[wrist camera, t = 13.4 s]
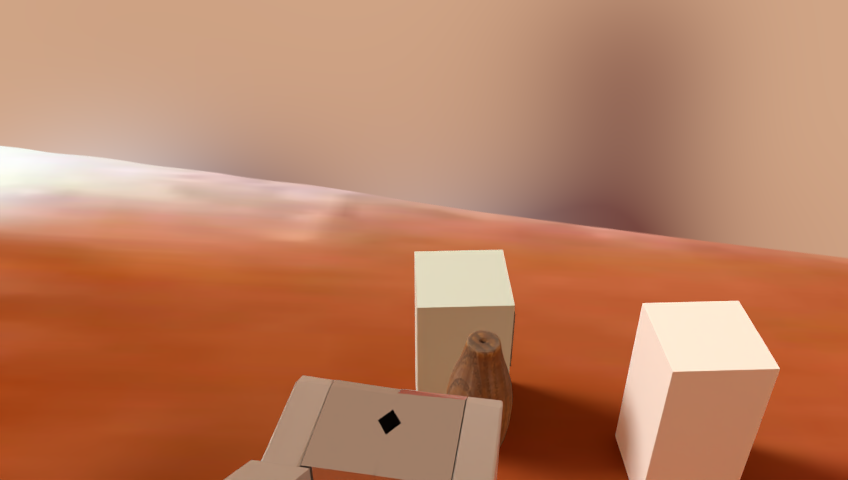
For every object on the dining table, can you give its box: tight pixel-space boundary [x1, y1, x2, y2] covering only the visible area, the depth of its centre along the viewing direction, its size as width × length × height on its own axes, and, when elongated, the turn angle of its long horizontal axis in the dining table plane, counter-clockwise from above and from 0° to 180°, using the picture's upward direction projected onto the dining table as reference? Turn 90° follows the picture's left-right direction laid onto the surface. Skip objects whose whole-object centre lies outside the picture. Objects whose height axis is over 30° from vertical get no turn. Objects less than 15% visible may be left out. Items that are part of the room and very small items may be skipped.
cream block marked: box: [615, 301, 780, 480], centre depth 40 cm, size 5×5×10 cm
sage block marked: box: [415, 250, 515, 394], centre depth 43 cm, size 5×5×10 cm
